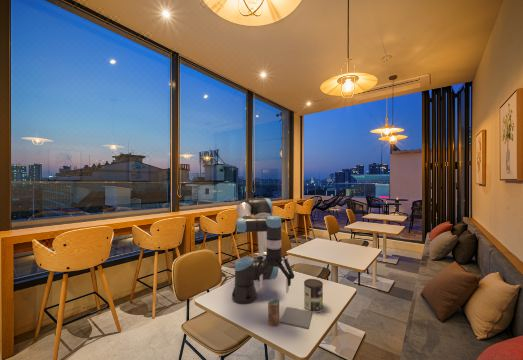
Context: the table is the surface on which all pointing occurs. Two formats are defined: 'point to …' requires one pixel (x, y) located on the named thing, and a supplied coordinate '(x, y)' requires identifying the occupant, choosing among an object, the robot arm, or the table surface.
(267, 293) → the table surface
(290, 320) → the slate coaster
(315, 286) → the coffee can
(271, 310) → the walnut block
